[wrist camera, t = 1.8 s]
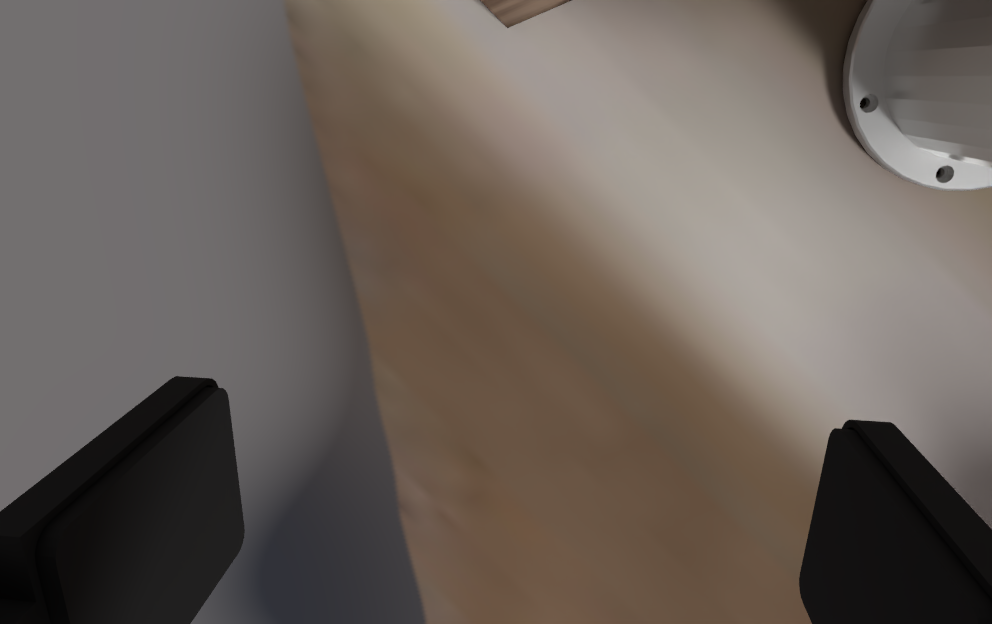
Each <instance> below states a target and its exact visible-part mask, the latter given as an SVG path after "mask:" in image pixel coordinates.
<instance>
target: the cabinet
mask: <svg viewBox="0 0 992 624" xmlns="http://www.w3.org/2000/svg"><path fill="white" fill-rule="evenodd" d="M481 1H482V2H483V3H484V4H485V5H486V6H487V8H488V9H489V10H490V11H491V12H492V13H493V14H494V15H495V16H496V17H497V18H498V19H499V20H500V21H501V22H502V23H503V24H504V25H505V26H506V27H507V28H508V27H511V26H513V25H515V24H518V23H520V22H522V21H525V20H527V19H529V18H532V17H534V16H536V15H539V14H541V13H543V12H546V11H548V10H550V9H553V8H555V7H557V6H560V5H562V4H564V3H566V2H569V1H571V0H481Z"/></svg>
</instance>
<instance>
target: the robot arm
mask: <svg viewBox="0 0 992 624" xmlns="http://www.w3.org/2000/svg"><path fill="white" fill-rule="evenodd" d="M843 96H844V102H845V107H846V113H847V116H848V119H849V121H850V124H851V126H852V129H853V131H854V134H855V136H856V137H857V139H858V140H859V142H860V143H861V145H862V146H863V147H864V149H865V150H866V152H867V153H868V154H869V155H870V156H871V157H872V158H873V159H874V160H875V161H876V162H877V163H879V164H880V165H881V166H882V167H883V168H884V169H886V170H888V171H889V172H891V173H893V174H895V175H896V176H898V177H900V178H902V179H904V180H907V181H910V182H913V183H915V184H918V185H921V186H925V187H929V188H934V189H938V190H951V191H970V190H977V189H983V188H989V187H992V0H868V1H867V2H866V4H865V6H864V7H863V9H862V11H861V12H860V14H859V16H858V18H857V21H856V23H855V26H854V28H853V31H852V34H851V36H850V39H849V41H848V46H847V51H846V56H845V60H844V65H843ZM862 98H865V100H866V104H865V106H864V107H863V108H860V101H861V100H862ZM938 169H940V173H939V175H937V176H936V172H937V171H938ZM243 539H244V521H243V512H242V504H241V496H240V488H239V480H238V472H237V464H236V456H235V447H234V439H233V431H232V423H231V416H230V407H229V400H228V394H227V392H226V390H224V389H223V388H218V385H217V383H216V381H214V380H213V379H209V378H193V377H179V376H176V377H174V378H172V379H170V380H169V381H168V382H167V383H165V384H164V385H163V386H161V387H160V388H159V389H157V390H156V391H155V392H154V393H152V394H151V395H150V396H149V397H147V398H146V399H145V400H143V401H142V402H141V403H140V404H138V405H137V406H136V407H134V408H133V409H132V410H131V411H129V412H128V413H127V414H125V415H124V416H123V417H122V418H120V419H119V420H118V421H116V422H115V423H114V424H112V425H111V426H110V427H109V428H107V429H106V430H105V431H103V432H102V433H101V434H100V435H98V436H97V437H96V438H94V439H93V440H92V441H91V442H89V443H88V444H87V445H85V446H84V447H83V448H82V449H80V450H79V451H78V452H76V453H75V454H74V455H73V456H71V457H70V458H69V459H67V460H66V461H65V462H64V463H62V464H61V465H60V466H58V467H57V468H56V469H55V470H53V471H52V472H51V473H49V474H48V475H47V476H46V477H44V478H43V479H42V480H40V481H39V482H38V483H36V484H35V485H34V486H33V487H31V488H30V489H29V490H28V491H26V492H25V493H24V494H22V495H21V496H20V497H18V498H17V499H16V500H15V501H13V502H12V503H11V504H9V505H8V506H7V507H6V508H4V509H3V510H2V511H1V512H0V624H190V623H191V622H192V620H193V619H194V617H195V616H196V615H197V613H198V611H199V610H200V609H201V607H202V606H203V604H204V603H205V601H206V600H207V598H208V597H209V595H210V594H211V593H212V591H213V590H214V588H215V587H216V585H217V584H218V582H219V581H220V579H221V578H222V576H223V575H224V573H225V572H226V571H227V569H228V568H229V566H230V565H231V563H232V562H233V560H234V559H235V557H236V556H237V554H238V553H239V551H240V549H241V546H242V543H243ZM799 586H800V594H801V598H802V601H803V604H804V606H805V608H806V611H807V613H808V615H809V617H810V620H811V622H812V624H992V530H991V529H990V527H989V526H988V525H987V524H986V523H985V522H984V521H983V520H982V519H981V518H980V517H979V516H978V514H977V513H976V512H975V511H974V510H973V509H972V508H971V507H970V506H969V505H968V504H967V503H966V502H965V500H964V499H963V498H962V497H961V496H960V495H959V494H958V493H957V492H956V491H955V490H954V489H953V487H952V486H951V485H950V484H949V483H948V482H947V481H946V480H945V479H944V478H943V477H942V476H941V475H940V473H939V472H938V471H937V470H936V469H935V468H934V467H933V466H932V465H931V464H930V463H929V462H928V460H927V459H926V458H925V457H924V456H923V455H922V454H921V453H920V452H919V451H918V450H917V449H916V447H915V446H914V445H913V444H912V443H911V442H910V441H909V440H908V439H907V438H906V437H905V436H904V435H903V433H902V432H901V431H900V430H899V429H898V428H897V427H896V426H895V425H894V424H892V423H891V422H876V421H860V420H848V421H847V422H845V424H844V425H843V427H842V429H836V428H835V429H834V430H832V432H831V433H830V436H829V440H828V444H827V449H826V454H825V458H824V463H823V468H822V473H821V477H820V482H819V487H818V491H817V496H816V501H815V506H814V510H813V515H812V520H811V524H810V529H809V534H808V539H807V543H806V548H805V553H804V557H803V562H802V567H801V572H800V578H799Z"/></svg>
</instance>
